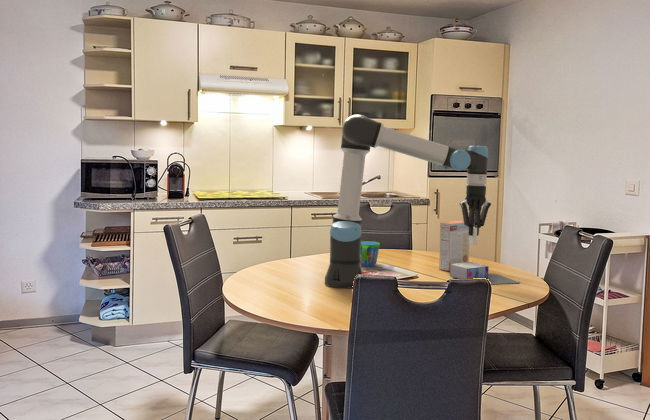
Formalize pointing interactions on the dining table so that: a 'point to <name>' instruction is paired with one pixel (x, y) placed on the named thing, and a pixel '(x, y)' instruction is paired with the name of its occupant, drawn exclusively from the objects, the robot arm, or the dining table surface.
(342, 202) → the robot arm
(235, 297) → the dining table surface
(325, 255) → the dining table surface
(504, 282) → the mat
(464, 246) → the cracker box
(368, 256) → the snack cup
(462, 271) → the ink cartridge box
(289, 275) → the dining table surface
